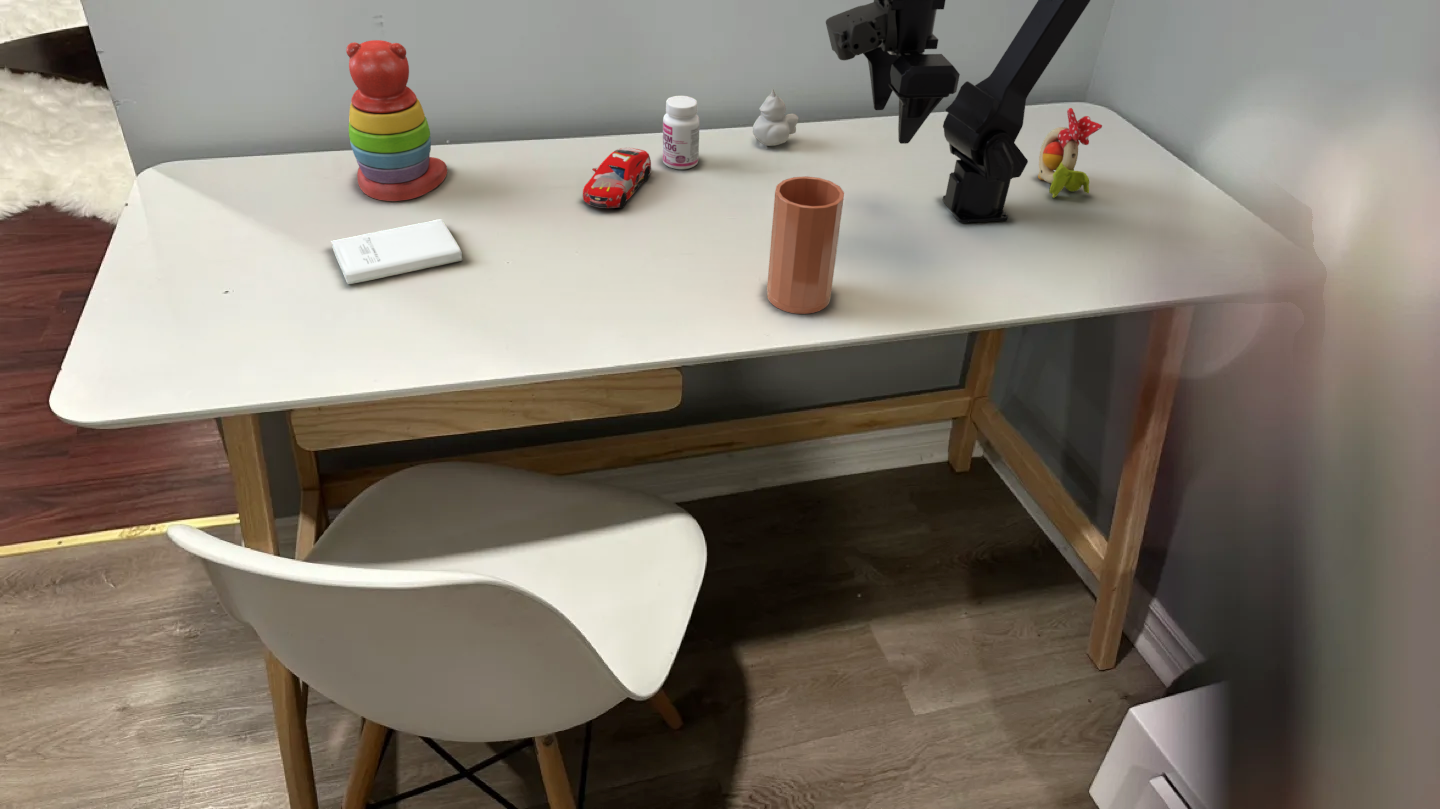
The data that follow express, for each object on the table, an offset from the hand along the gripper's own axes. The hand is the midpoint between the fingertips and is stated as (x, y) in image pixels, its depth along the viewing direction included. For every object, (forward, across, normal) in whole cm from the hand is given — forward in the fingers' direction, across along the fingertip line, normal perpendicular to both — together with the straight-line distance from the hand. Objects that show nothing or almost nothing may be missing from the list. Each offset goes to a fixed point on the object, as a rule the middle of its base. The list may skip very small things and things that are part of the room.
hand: (890, 125), depth 113 cm
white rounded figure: (+13, -25, -7) cm, 29 cm away
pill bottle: (+13, -20, -21) cm, 32 cm away
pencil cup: (+13, +14, -13) cm, 23 cm away
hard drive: (+13, +1, -56) cm, 58 cm away
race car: (+13, -13, -30) cm, 35 cm away
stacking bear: (+13, -17, -57) cm, 61 cm away
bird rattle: (+13, -8, +27) cm, 31 cm away
